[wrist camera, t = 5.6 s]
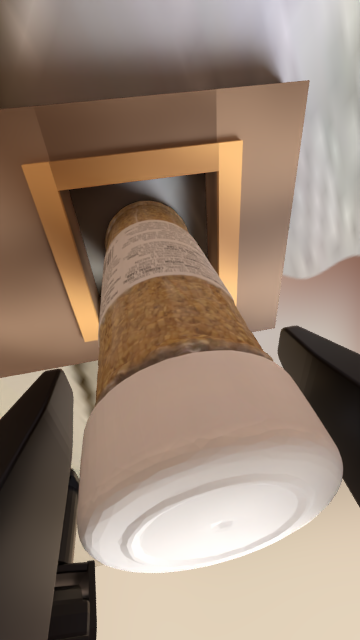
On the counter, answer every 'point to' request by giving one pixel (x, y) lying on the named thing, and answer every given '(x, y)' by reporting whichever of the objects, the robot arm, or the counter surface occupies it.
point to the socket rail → (135, 165)
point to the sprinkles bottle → (189, 415)
